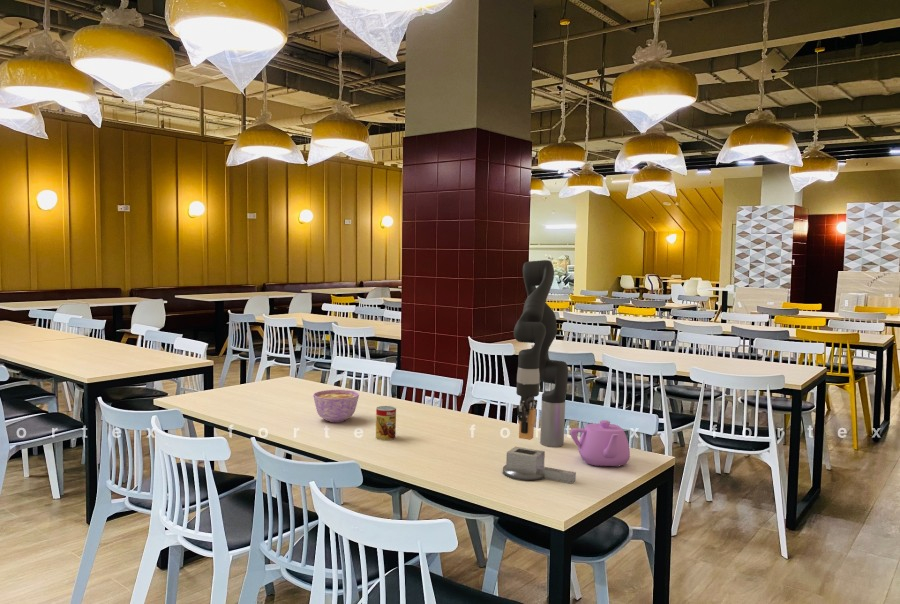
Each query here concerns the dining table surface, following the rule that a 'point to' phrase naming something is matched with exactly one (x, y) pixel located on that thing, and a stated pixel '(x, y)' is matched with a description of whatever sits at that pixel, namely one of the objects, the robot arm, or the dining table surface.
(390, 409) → the canned food
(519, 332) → the robot arm
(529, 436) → the orange block
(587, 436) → the teapot
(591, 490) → the dining table surface
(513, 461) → the bracket
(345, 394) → the bowl of food
